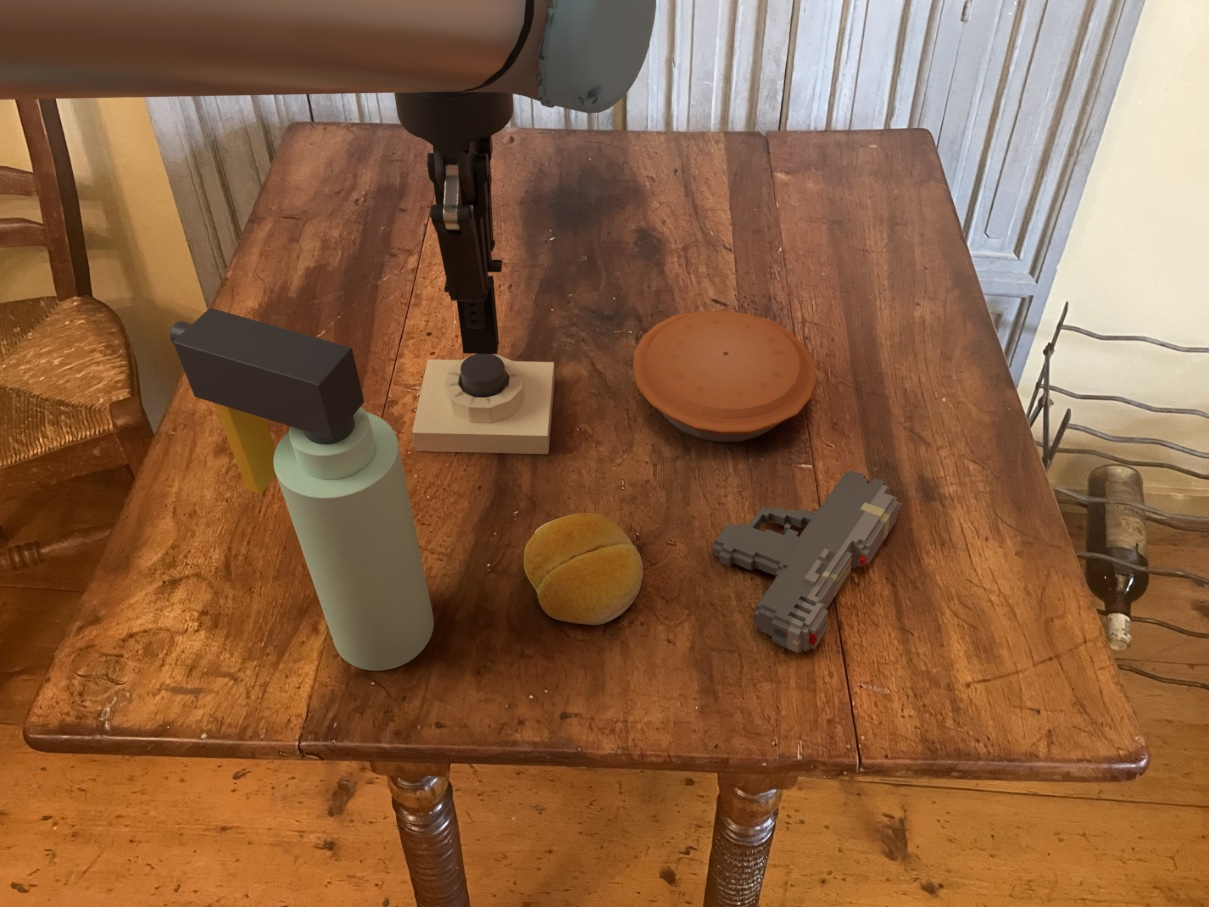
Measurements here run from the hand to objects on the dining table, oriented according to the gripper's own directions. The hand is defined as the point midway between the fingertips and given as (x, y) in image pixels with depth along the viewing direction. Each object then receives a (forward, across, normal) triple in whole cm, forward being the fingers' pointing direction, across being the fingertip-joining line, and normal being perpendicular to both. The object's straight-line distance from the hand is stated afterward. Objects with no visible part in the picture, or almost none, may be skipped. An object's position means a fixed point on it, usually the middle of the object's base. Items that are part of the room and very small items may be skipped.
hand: (481, 347), depth 79 cm
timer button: (+4, 0, 0) cm, 4 cm away
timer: (+7, 0, 0) cm, 7 cm away
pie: (+8, +3, -20) cm, 22 cm away
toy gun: (+8, -15, -24) cm, 29 cm away
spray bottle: (+7, -21, +8) cm, 23 cm away
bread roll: (+8, -17, -9) cm, 21 cm away
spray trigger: (-6, -20, +11) cm, 23 cm away
